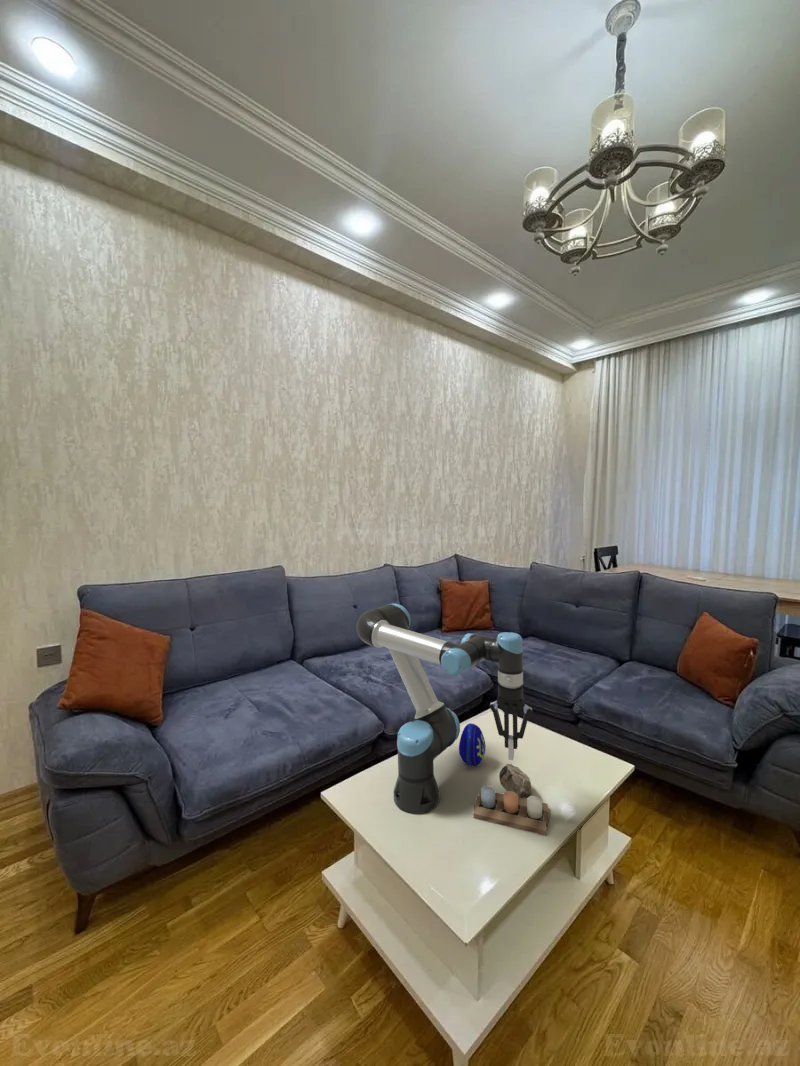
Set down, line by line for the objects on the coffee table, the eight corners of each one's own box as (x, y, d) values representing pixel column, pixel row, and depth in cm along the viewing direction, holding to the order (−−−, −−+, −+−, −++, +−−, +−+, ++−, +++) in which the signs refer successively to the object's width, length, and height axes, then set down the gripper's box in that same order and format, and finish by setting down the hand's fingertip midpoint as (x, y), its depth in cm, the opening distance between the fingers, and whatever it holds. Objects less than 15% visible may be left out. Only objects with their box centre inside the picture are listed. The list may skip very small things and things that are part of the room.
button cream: (526, 816, 129) (526, 804, 129) (527, 807, 133) (527, 794, 133) (541, 820, 127) (541, 807, 127) (542, 810, 131) (542, 797, 131)
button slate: (480, 805, 134) (479, 793, 134) (482, 797, 138) (482, 785, 138) (494, 809, 133) (494, 796, 132) (496, 800, 137) (496, 788, 136)
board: (471, 817, 131) (471, 813, 131) (479, 793, 143) (479, 788, 142) (547, 836, 123) (547, 831, 123) (549, 808, 134) (549, 804, 134)
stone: (523, 804, 136) (523, 782, 136) (494, 785, 146) (495, 764, 146) (537, 796, 141) (538, 775, 140) (509, 778, 150) (509, 758, 150)
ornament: (478, 775, 152) (477, 734, 151) (454, 767, 157) (453, 727, 156) (489, 759, 162) (488, 720, 161) (466, 752, 166) (465, 714, 165)
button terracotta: (502, 811, 132) (502, 798, 131) (504, 801, 136) (504, 789, 135) (517, 814, 130) (517, 802, 130) (519, 805, 134) (518, 792, 134)
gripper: (487, 686, 131) (488, 760, 132) (532, 691, 127) (532, 768, 128) (490, 676, 138) (491, 747, 139) (532, 681, 134) (533, 754, 135)
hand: (511, 757), depth 134 cm, fingers closed
